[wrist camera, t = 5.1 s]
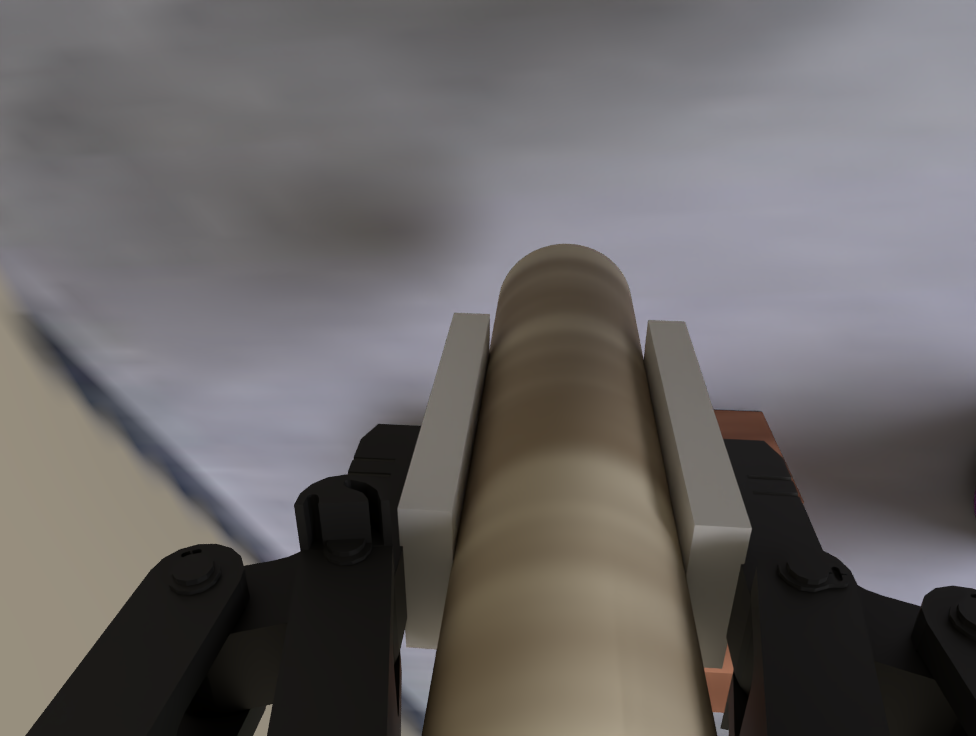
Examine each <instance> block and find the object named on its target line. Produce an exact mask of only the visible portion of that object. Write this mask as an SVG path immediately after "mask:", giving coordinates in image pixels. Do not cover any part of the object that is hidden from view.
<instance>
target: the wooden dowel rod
mask: <svg viewBox="0 0 976 736" xmlns="http://www.w3.org/2000/svg"><path fill="white" fill-rule="evenodd" d="M422 736H717V732H716V727H715V722H714V717H713V712H712V706H711V701H710V696H709V691H708V686H707V681H706V676H705V671H704V666H703V661H702V655H701V650H700V645H699V640H698V635H697V630H696V625H695V620H694V615H693V610H692V604H691V599H690V594H689V589H688V584H687V579H686V574H685V569H684V564H683V559H682V553H681V548H680V543H679V538H678V533H677V528H676V523H675V518H674V513H673V508H672V502H671V497H670V492H669V487H668V482H667V477H666V472H665V467H664V462H663V456H662V451H661V446H660V441H659V436H658V431H657V426H656V421H655V416H654V411H653V405H652V400H651V395H650V390H649V385H648V380H647V375H646V370H645V365H644V360H643V354H642V349H641V344H640V339H639V334H638V329H637V324H636V319H635V314H634V309H633V303H632V298H631V293H630V290H629V286H628V283H627V281H626V279H625V277H624V275H623V274H622V272H621V271H620V269H619V268H618V267H617V266H616V265H615V264H614V263H613V262H612V261H611V260H610V259H609V258H607V257H606V256H605V255H603V254H602V253H600V252H598V251H596V250H594V249H591V248H588V247H585V246H581V245H575V244H556V245H550V246H546V247H543V248H540V249H538V250H535V251H533V252H531V253H530V254H528V255H526V256H525V257H524V258H522V259H521V260H520V261H518V262H517V263H516V264H515V266H514V267H513V268H512V269H511V270H510V272H509V273H508V274H507V276H506V278H505V280H504V282H503V284H502V287H501V290H500V294H499V299H498V305H497V311H496V316H495V322H494V328H493V333H492V339H491V345H490V350H489V359H488V365H487V370H486V376H485V382H484V387H483V393H482V399H481V405H480V410H479V416H478V422H477V427H476V433H475V439H474V445H473V450H472V456H471V462H470V467H469V473H468V479H467V485H466V490H465V496H464V502H463V507H462V513H461V519H460V525H459V530H458V536H457V542H456V547H455V553H454V559H453V564H452V568H451V573H450V578H449V583H448V589H447V595H446V600H445V606H444V612H443V617H442V623H441V629H440V634H439V640H438V646H437V651H436V657H435V663H434V668H433V674H432V680H431V685H430V691H429V697H428V702H427V708H426V714H425V719H424V725H423V731H422Z"/></svg>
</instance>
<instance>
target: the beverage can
mask: <svg viewBox="0 0 976 736" xmlns="http://www.w3.org/2000/svg"><path fill="white" fill-rule="evenodd" d="M974 512H975V517H976V488H975V493H974Z"/></svg>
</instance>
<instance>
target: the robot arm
mask: <svg viewBox="0 0 976 736" xmlns="http://www.w3.org/2000/svg"><path fill="white" fill-rule="evenodd" d="M489 341H490V314H471V313H454V315H453V318H452V322H451V325H450V329H449V332H448V336H447V339H446V343H445V346H444V350H443V353H442V356H441V360H440V363H439V367H438V370H437V374H436V377H435V381H434V384H433V388H432V391H431V394H430V398H429V401H428V405H427V408H426V412H425V415H424V419H423V422H422V426H410V425H389V424H378V425H377V426H376V427H374V428H373V429H372V430H371V431H370V432H369V433H367V434H366V435H365V436H364V437H363V438H362V439H361V440H360V443H359V445H358V448H357V450H356V453H355V455H354V460H352V463H351V465H350V468H349V470H348V475H340V476H334V477H328V478H325V479H323V480H320V481H318V482H316V483H313V484H311V485H310V486H309V487H308V488H306V489H305V490H304V491H303V492H302V493H300V495H299V497H298V498H297V500H296V502H295V504H294V508H295V515H296V522H297V529H298V536H299V543H300V550H301V551H300V552H298V553H296V554H294V555H291V556H289V557H286V558H282V559H278V560H274V561H269V562H263V563H257V564H252V565H246V566H244V565H243V562H242V558H241V556H240V555H239V554H238V553H237V552H235V551H234V550H233V549H232V548H229V547H226V546H222V545H219V544H198V545H194V546H191V547H187V548H183V549H180V550H178V551H176V552H175V553H172V554H170V555H169V556H167V557H165V558H163V559H162V560H161V561H160V562H159V563H158V564H157V565H156V566H155V567H154V568H153V569H151V570H150V572H149V573H148V574H147V576H146V577H145V579H144V580H143V581H142V582H141V584H140V585H139V586H138V588H137V589H136V590H135V592H134V593H133V594H132V596H131V597H130V598H129V599H128V601H127V602H126V604H125V605H124V606H123V607H122V609H121V610H120V611H119V613H118V614H117V615H116V617H115V618H114V619H113V621H112V622H111V623H110V625H109V626H108V627H107V629H106V630H105V631H104V633H103V634H102V635H101V636H100V638H99V639H98V640H97V642H96V643H95V644H94V646H93V647H92V648H91V650H90V651H89V652H88V654H87V655H86V656H85V658H84V659H83V660H82V662H81V663H80V664H79V666H78V667H77V668H76V670H75V671H74V672H73V673H72V675H71V676H70V677H69V679H68V680H67V681H66V683H65V684H64V685H63V687H62V688H61V689H60V691H59V692H58V693H57V695H56V696H55V697H54V699H53V700H52V701H51V703H50V704H49V705H48V706H47V708H46V709H45V710H44V712H43V713H42V714H41V716H40V717H39V718H38V720H37V721H36V722H35V724H34V725H33V726H32V728H31V729H30V730H29V732H28V733H27V734H26V735H25V736H253V735H254V732H255V730H256V728H257V726H258V724H259V722H260V720H261V718H262V715H263V713H264V711H265V709H266V705H270V704H273V706H272V712H271V717H270V722H269V728H268V733H267V736H401V680H402V670H401V656H400V648H401V644H402V639H403V635H404V630H405V632H406V647H411V648H425V649H437V646H438V640H439V634H440V629H441V623H442V617H443V612H444V606H445V600H446V595H447V589H448V583H449V578H450V573H451V568H452V564H453V559H454V553H455V547H456V542H457V536H458V530H459V525H460V519H461V513H462V507H463V502H464V496H465V490H466V485H467V479H468V473H469V467H470V462H471V456H472V450H473V445H474V439H475V433H476V427H477V422H478V416H479V410H480V405H481V399H482V393H483V387H484V382H485V376H486V370H487V365H488V359H489ZM644 365H645V370H646V375H647V380H648V385H649V390H650V395H651V400H652V405H653V411H654V416H655V421H656V426H657V431H658V436H659V441H660V446H661V451H662V456H663V462H664V467H665V472H666V477H667V482H668V487H669V492H670V497H671V502H672V508H673V513H674V518H675V523H676V528H677V533H678V538H679V543H680V548H681V553H682V559H683V564H684V569H685V574H686V579H687V584H688V589H689V594H690V599H691V604H692V610H693V615H694V620H695V625H696V630H697V635H698V640H699V645H700V650H701V655H702V661H703V666H704V668H718V669H722V667H723V663H724V658H725V653H726V648H727V644H728V648H729V652H730V656H731V660H732V665H733V669H734V670H733V674H732V679H731V683H730V688H729V692H728V697H727V701H726V706H725V710H724V715H723V719H722V724H721V729H726V730H728V729H729V736H976V590H975V589H972V588H965V587H958V586H947V587H940V588H935V589H934V590H932V591H931V592H929V593H928V594H926V595H925V596H924V599H923V602H922V604H921V606H917V605H914V604H910V603H907V602H903V601H899V600H896V599H892V598H889V597H885V596H882V595H879V594H876V593H874V592H871V591H868V590H866V589H864V588H862V587H860V586H858V585H857V583H856V581H855V579H854V577H853V575H852V573H851V571H850V570H849V569H848V568H847V567H846V566H845V565H844V564H843V563H842V562H841V561H840V560H839V559H838V558H836V557H834V556H832V555H830V554H829V553H827V552H825V551H823V550H822V547H821V545H820V543H819V540H818V538H817V536H816V533H815V531H814V529H813V526H812V524H811V522H810V519H809V517H808V515H807V512H806V510H805V508H804V505H803V503H802V501H801V498H800V497H798V491H797V489H796V487H795V484H794V482H793V481H791V475H790V473H789V470H788V468H787V466H786V463H785V461H784V459H783V457H781V456H780V455H779V454H778V453H777V452H776V451H775V450H774V449H773V448H772V447H770V446H769V445H768V444H767V443H766V442H765V441H761V440H741V439H723V438H722V435H721V431H720V428H719V425H718V422H717V419H716V416H715V413H714V410H713V407H712V404H711V401H710V398H709V394H708V391H707V388H706V385H705V382H704V379H703V376H702V373H701V370H700V367H699V364H698V360H697V357H696V354H695V351H694V348H693V345H692V342H691V339H690V336H689V333H688V330H687V327H686V323H685V322H682V321H656V320H648V326H647V335H646V344H645V353H644Z"/></svg>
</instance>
